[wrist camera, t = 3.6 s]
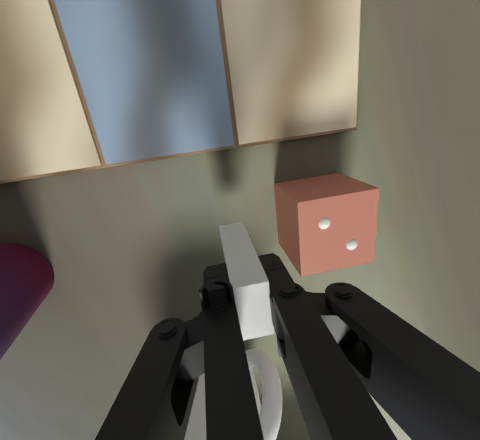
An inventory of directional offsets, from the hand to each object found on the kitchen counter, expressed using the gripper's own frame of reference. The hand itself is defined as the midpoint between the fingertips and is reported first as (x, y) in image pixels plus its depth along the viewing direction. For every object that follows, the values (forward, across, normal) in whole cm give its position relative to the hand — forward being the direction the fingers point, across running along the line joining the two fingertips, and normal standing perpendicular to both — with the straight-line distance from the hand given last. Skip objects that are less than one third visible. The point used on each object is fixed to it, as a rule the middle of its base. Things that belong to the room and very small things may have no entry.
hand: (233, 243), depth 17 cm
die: (+4, +6, 0) cm, 7 cm away
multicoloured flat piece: (+4, -3, +10) cm, 11 cm away
